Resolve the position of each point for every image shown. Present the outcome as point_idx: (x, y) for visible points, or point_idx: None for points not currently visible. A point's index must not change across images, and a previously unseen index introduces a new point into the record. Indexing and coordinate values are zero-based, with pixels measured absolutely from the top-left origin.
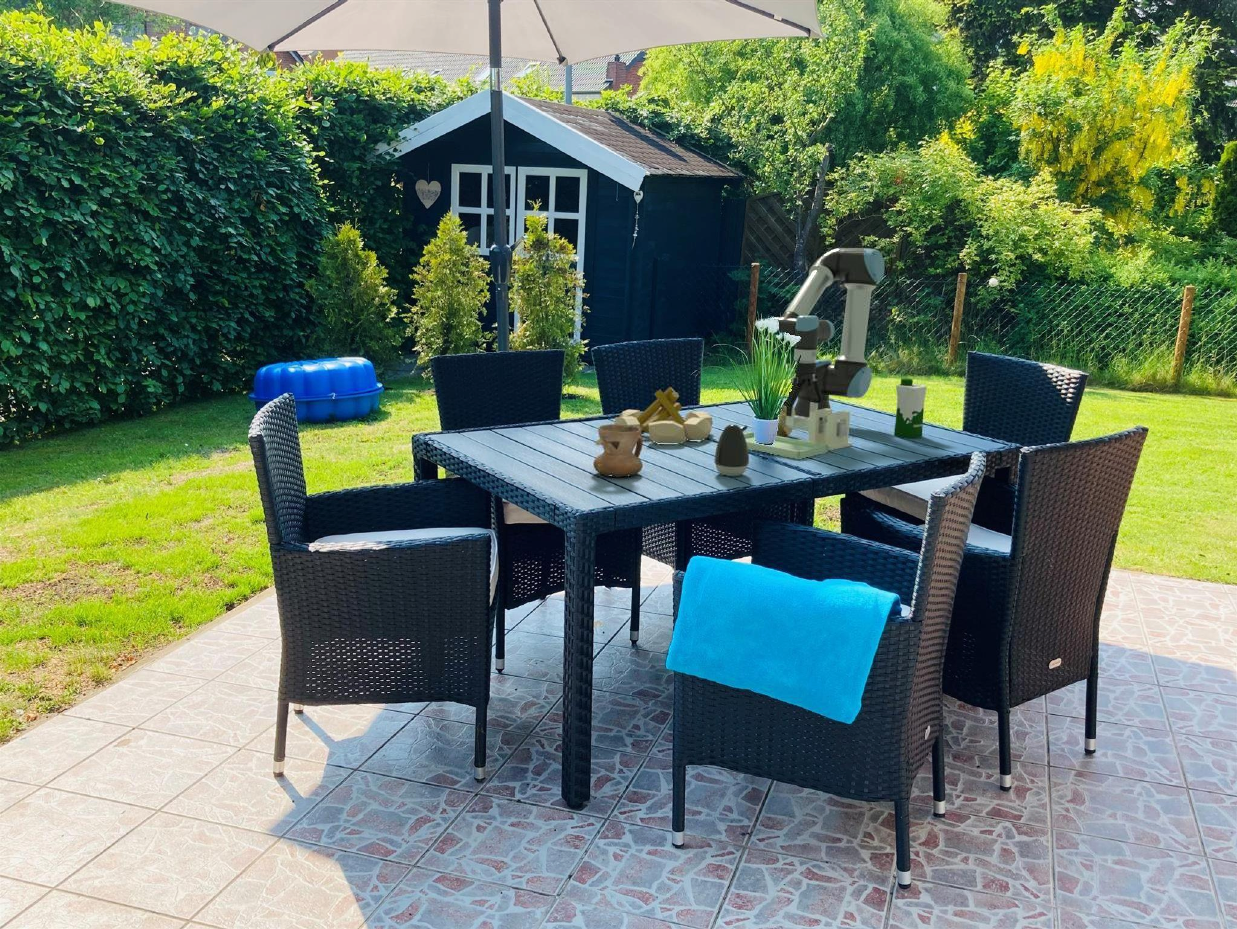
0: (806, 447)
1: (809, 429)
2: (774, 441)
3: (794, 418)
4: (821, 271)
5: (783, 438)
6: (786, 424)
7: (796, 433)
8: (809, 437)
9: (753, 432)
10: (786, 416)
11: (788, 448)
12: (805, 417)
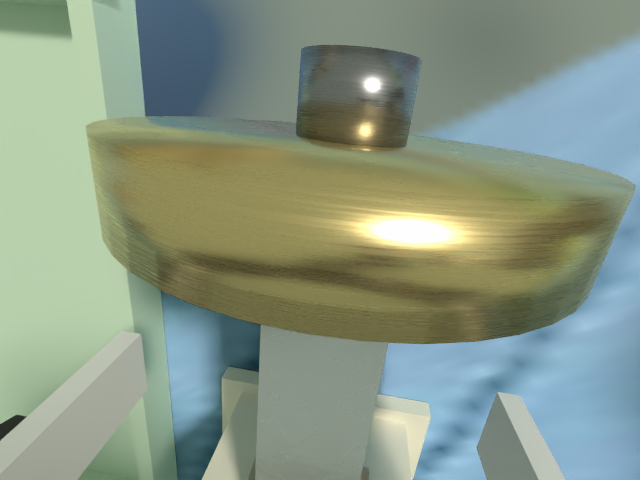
0: (128, 424)
1: (208, 466)
2: (102, 240)
3: (261, 372)
4: None
5: (115, 302)
6: (118, 340)
7: (580, 162)
8: (231, 420)
9: (69, 6)
10: (55, 392)
11: (39, 372)
12: (339, 458)
